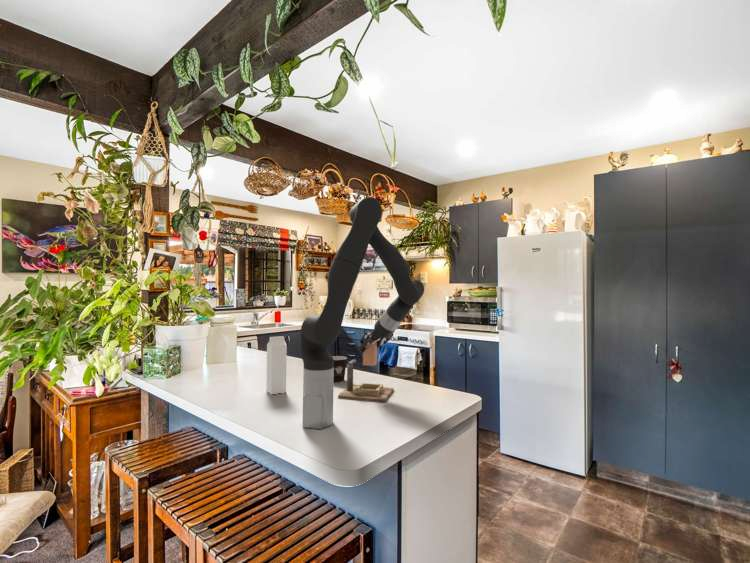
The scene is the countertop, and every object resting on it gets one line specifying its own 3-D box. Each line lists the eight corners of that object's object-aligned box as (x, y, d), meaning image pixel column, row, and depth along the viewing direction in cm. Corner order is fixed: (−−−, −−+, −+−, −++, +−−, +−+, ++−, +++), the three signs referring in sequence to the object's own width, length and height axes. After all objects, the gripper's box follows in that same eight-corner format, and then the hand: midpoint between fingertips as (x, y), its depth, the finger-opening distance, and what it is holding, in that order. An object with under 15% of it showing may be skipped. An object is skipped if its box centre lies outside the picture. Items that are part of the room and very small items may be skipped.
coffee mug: (348, 378, 171) (348, 356, 171) (344, 383, 162) (345, 360, 162) (323, 377, 172) (323, 355, 172) (318, 382, 163) (318, 359, 163)
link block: (374, 365, 143) (374, 334, 144) (362, 365, 145) (363, 334, 145) (377, 363, 148) (377, 333, 148) (366, 362, 149) (366, 332, 149)
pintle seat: (384, 402, 136) (384, 369, 137) (338, 397, 141) (338, 366, 141) (393, 390, 152) (393, 360, 152) (351, 386, 156) (351, 358, 157)
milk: (266, 391, 148) (266, 336, 149) (280, 389, 152) (281, 335, 152) (271, 395, 143) (271, 337, 144) (286, 392, 147) (286, 336, 147)
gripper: (396, 314, 146) (376, 341, 154) (369, 315, 136) (348, 344, 145) (406, 329, 142) (384, 355, 150) (379, 331, 132) (357, 360, 141)
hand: (367, 350), depth 147 cm, fingers closed on link block, 6 cm apart
